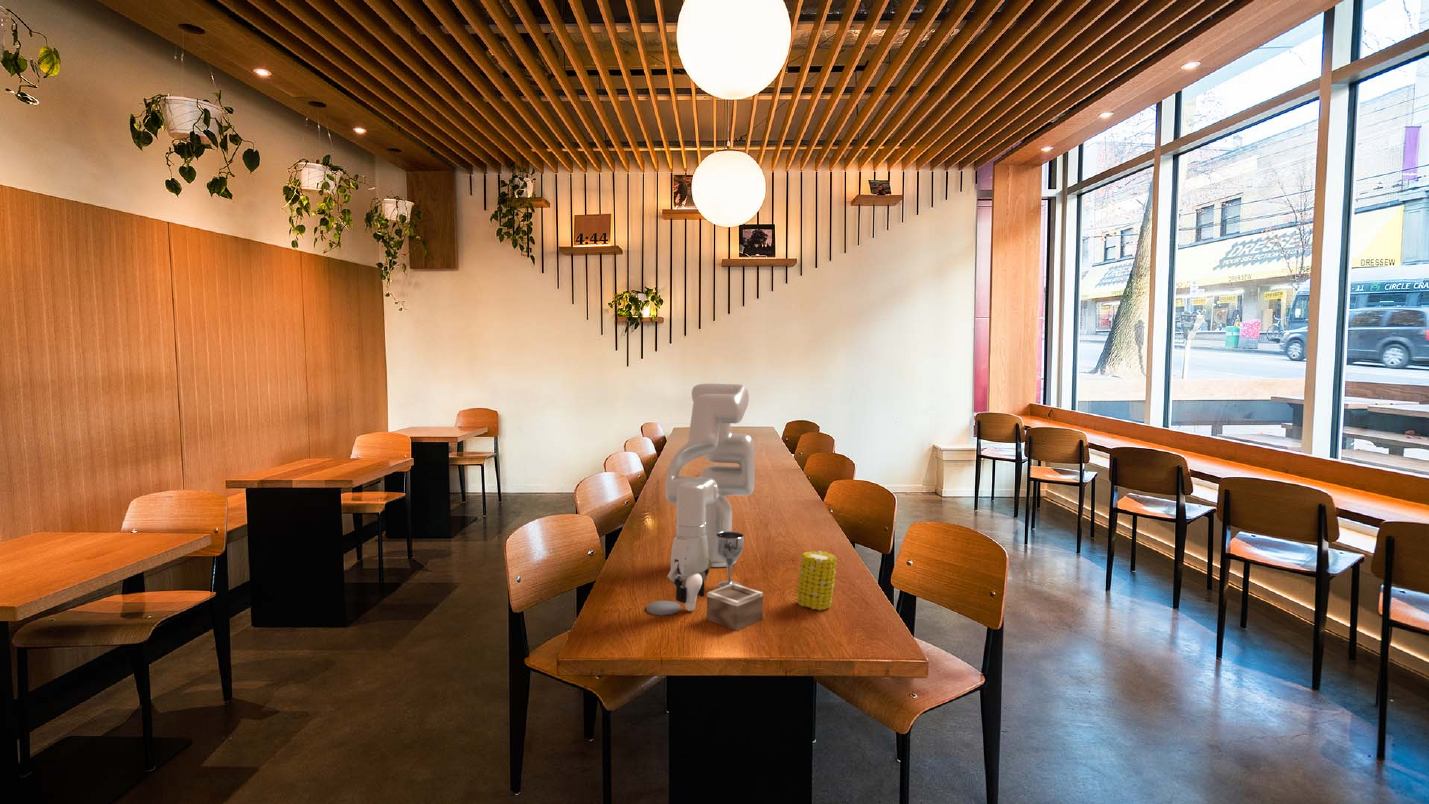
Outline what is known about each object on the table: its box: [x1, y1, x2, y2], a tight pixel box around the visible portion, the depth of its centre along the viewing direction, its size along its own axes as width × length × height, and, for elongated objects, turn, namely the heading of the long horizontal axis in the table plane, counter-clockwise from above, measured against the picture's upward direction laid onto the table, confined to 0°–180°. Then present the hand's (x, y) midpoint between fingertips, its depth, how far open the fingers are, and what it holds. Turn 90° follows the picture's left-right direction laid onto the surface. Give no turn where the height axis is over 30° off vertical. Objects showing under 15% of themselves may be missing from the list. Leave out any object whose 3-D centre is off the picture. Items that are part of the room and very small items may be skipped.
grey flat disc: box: [645, 600, 681, 617], centre depth 175 cm, size 9×9×1 cm
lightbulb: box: [680, 573, 702, 612], centre depth 173 cm, size 6×6×11 cm
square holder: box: [706, 583, 764, 632], centre depth 168 cm, size 10×10×7 cm
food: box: [796, 550, 838, 611], centre depth 179 cm, size 15×12×10 cm
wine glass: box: [716, 530, 745, 588], centre depth 193 cm, size 8×8×15 cm
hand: (690, 597), depth 174 cm, fingers closed on lightbulb, 5 cm apart
